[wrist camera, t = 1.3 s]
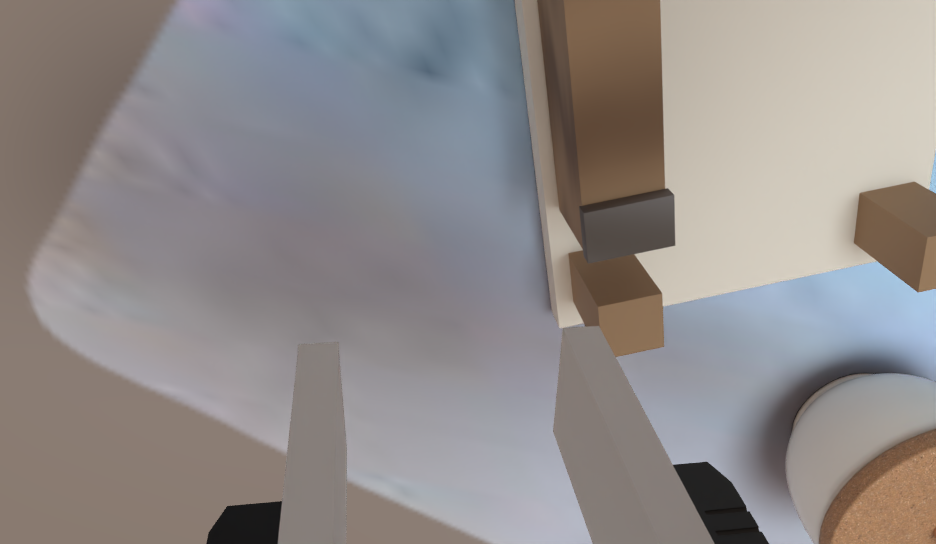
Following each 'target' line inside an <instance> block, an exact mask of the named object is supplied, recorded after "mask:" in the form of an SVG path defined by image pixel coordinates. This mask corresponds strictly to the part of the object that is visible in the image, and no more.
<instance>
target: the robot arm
mask: <svg viewBox="0 0 936 544" xmlns="http://www.w3.org/2000/svg"><path fill="white" fill-rule="evenodd" d="M553 432H554V435H555V438H556V441H557V444H558V446H559V449H560V452H561V455H562V458H563V461H564V463H565V466H566V469H567V472H568V475H569V477H570V480H571V483H572V486H573V489H574V492H575V494H576V497H577V500H578V503H579V506H580V509H581V511H582V514H583V517H584V520H585V523H586V526H587V528H588V531H589V534H590V537H591V540H592V543H593V544H769V543H768V541H767V540H766V538H765V536H764V535H763V533H762V532H759V529H758V525H757V523H756V522H755V520H754V518H753V517H752V515H751V514H750V512H747V510H746V505H745V504H744V502H743V500H742V499H741V497H740V495H739V494H738V492H737V491H736V489H735V487H734V486H733V484H732V482H731V481H729V480H728V479H727V478H726V477H725V476H723V475H722V474H721V473H720V472H719V471H717V470H716V469H715V468H714V467H713V466H712V465H710V464H709V463H708V462H700V463H689V464H677V465H672V463H671V461H670V459H669V457H668V455H667V453H666V451H665V449H664V448H663V446H662V444H661V442H660V440H659V438H658V436H657V434H656V432H655V431H654V429H653V427H652V425H651V423H650V421H649V419H648V417H647V416H646V414H645V412H644V410H643V408H642V406H641V404H640V402H639V400H638V399H637V397H636V395H635V393H634V391H633V389H632V387H631V385H630V384H629V382H628V380H627V378H626V376H625V374H624V372H623V370H622V368H621V367H620V365H619V363H618V361H617V359H616V357H615V355H614V353H613V351H612V350H611V348H610V346H609V344H608V342H607V340H606V338H605V336H604V335H603V333H602V331H601V329H600V327H599V326H588V327H572V328H563V332H562V343H561V353H560V364H559V375H558V385H557V396H556V407H555V418H554V428H553ZM346 485H347V445H346V433H345V420H344V408H343V396H342V383H341V371H340V359H339V346H338V342H333V343H317V344H301V345H299V347H298V356H297V366H296V375H295V385H294V394H293V404H292V413H291V422H290V432H289V441H288V451H287V460H286V470H285V480H284V489H283V498H282V501H280V502H270V503H258V504H246V505H235V506H227V507H226V509H225V510H224V512H223V513H222V515H221V516H220V518H219V519H218V520H217V522H216V523H215V525H214V526H213V527H212V529H211V530H210V532H209V534H208V539H207V544H346Z"/></svg>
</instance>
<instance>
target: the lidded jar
mask: <svg viewBox="0 0 936 544" xmlns="http://www.w3.org/2000/svg"><path fill="white" fill-rule="evenodd" d="M785 469H786V477H787V484H788V490H789V493H790V495H791V498H792V501H793V504H794V506H795V509H796V512H797V514H798V516H799V518H800V520H801V522H802V524H803V526H804V528H805V530H806V532H807V533H808V535H809V537H810V538H811V540H812V542H813V543H814V544H936V382H935V381H932V380H929V379H926V378H923V377H918V376H914V375H908V374H898V373H883V374H868V373H861V374H853V375H848V376H845V377H842V378H839V379H837V380H834V381H832V382H830V383H828V384H827V385H825V386H823V387H822V388H820V389H819V390H818V391H816V392H815V393H814V394H813V395H812V396H811V397H810V398H808V399H807V401H806V402H805V403H804V404H803V405H802V407H801V408H800V410H799V411H798V413H797V415H796V417H795V420H794V423H793V428H792V434H791V437H790V440H789V444H788V447H787V453H786V466H785Z"/></svg>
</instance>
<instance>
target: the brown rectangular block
mask: <svg viewBox="0 0 936 544" xmlns="http://www.w3.org/2000/svg"><path fill="white" fill-rule="evenodd" d="M537 2H538V12H539V21H540V31H541V40H542V50H543V59H544V69H545V78H546V88H547V97H548V107H549V116H550V126H551V135H552V145H553V154H554V164H555V173H556V183H557V192H558V202H559V210H560V212H561V214H562V215H563V217H564V219H565V220H566V222H567V224H568V226H569V227H570V229H571V231H572V232H573V234H574V236H575V237H576V239H577V241H578V242H579V244H580V246H581V247H582V249H583V255H584V258H585V259H586V261H587V263H588V264H590V263H594V262H599V261H604V260H609V259H614V258H618V257H623V256H628V255H633V254H638V253H643V252H647V251H652V250H657V249H662V248H667V247H671V246H675V203H674V194H673V193H672V192H671V191H670V190H669V189H668V188H667V189H665V164H664V126H663V87H662V48H661V10H660V0H537Z"/></svg>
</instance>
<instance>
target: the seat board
mask: <svg viewBox="0 0 936 544" xmlns="http://www.w3.org/2000/svg"><path fill="white" fill-rule="evenodd" d="M514 1H515V9H516V17H517V26H518V34H519V42H520V51H521V59H522V67H523V76H524V84H525V92H526V101H527V109H528V117H529V126H530V134H531V142H532V151H533V159H534V167H535V176H536V184H537V192H538V201H539V209H540V217H541V225H542V234H543V242H544V250H545V259H546V267H547V275H548V284H549V292H550V300H551V309H552V313H553V315H554V317H555V319H556V322H557V324H558V326H559V328H564V327H569V326H574V325H578V324H583V323H584V324H585V326H586V327H588V326H599V327H600V329H601V331H602V333H603V335H604V336H605V338H606V340H607V342H608V344H609V346H610V348H611V350H612V351H613V353H614V355H615V357H618V356H623V355H627V354H632V353H637V352H641V351H646V350H651V349H655V348H660V347H664V331H663V306H668V305H673V304H678V303H682V302H687V301H692V300H696V299H701V298H706V297H711V296H715V295H720V294H725V293H730V292H734V291H739V290H744V289H748V288H753V287H758V286H763V285H767V284H772V283H777V282H782V281H786V280H791V279H796V278H801V277H805V276H810V275H815V274H819V273H824V272H829V271H834V270H838V269H843V268H848V267H853V266H857V265H862V264H867V263H871V262H876V261H878V262H879V263H880V264H882V265H883V266H884V267H886V268H887V269H888V270H889V271H891V272H892V273H893V274H895V275H896V276H897V277H899V278H900V279H901V280H903V281H904V282H905V283H906V284H908V285H909V286H910V287H912V288H913V289H914V290H916V291H917V292H922V291H927V290H931V289H936V194H935V193H934V192H932V191H930V190H929V186H930V180H931V175H932V169H933V163H934V157H935V151H936V0H660V10H661V48H662V87H663V126H664V164H665V189H667V188H668V189H669V190H670V191H671V192H672V193H673V194H674V203H675V246H671V247H667V248H662V249H657V250H652V251H647V252H643V253H638V254H633V255H628V256H623V257H618V258H614V259H609V260H604V261H599V262H594V263H590V264H588V263H587V261H586V259H585V258H584V255H583V249H582V247H581V246H580V244H579V242H578V241H577V239H576V237H575V236H574V234H573V232H572V231H571V229H570V227H569V226H568V224H567V222H566V220H565V219H564V217H563V215H562V214H561V212H560V210H559V202H558V192H557V183H556V173H555V164H554V154H553V145H552V135H551V126H550V116H549V107H548V97H547V88H546V78H545V69H544V59H543V50H542V40H541V31H540V21H539V12H538V2H537V0H514Z"/></svg>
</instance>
